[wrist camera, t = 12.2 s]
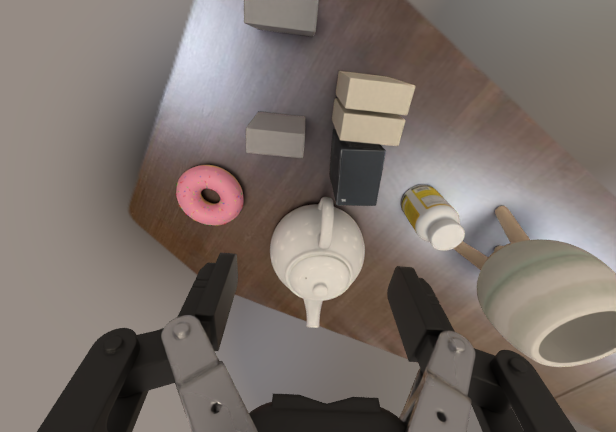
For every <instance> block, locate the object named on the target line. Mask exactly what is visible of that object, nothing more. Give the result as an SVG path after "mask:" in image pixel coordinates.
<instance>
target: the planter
mask: <svg viewBox="0 0 616 432" xmlns="http://www.w3.org/2000/svg"><path fill="white" fill-rule="evenodd" d="M495 214H496V216H497V218H498V220H499V222H500V224H501V226H502V228H503V230H504V232H505V234H506V235H507V237H508V239H509V241H510V244H507V245H505V246H501V245H500V246H497V247H496V248H495V249H494V252H493V253H492V254H491V255H490V256H489V257H487V256H485V255H484V254H482V253H481V252H479V251H478V250H476V249H474V248H473V247H471V246H469V245H468V244H466V243H464V242H463V241H462V242H461V243H460V244H459V245H458V246H457V247H455V248H453V249H454V250H455V251H457V252H458V253H459V254H461V255H462V256H463V257H465V258H466V259H467V260H468V261H470V262H471V263H472V264H473V265H475V266H476V267H477V268H478V269H480V270H481V271H480V273H479V276H478V281H477V296H478V300H479V303H480V306H481V308H482V310H483V312H484V314H485V315H486V317H487V318H488V320H489V321H490V322H491V324H492V325H493V326H494V327H495V329H496V330H497V331H498V332H499V333H500V334H501V335H502V336H503V337H504V338H505V339H506V340H507V341H508V342H509V343H511V344H512V345H513V346H514V347H515V348H517V349H518V350H519V351H520V352H522V353H523V354H525V355H526V356H528V357H529V358H531V359H533V360H534V361H536V362H538V363H540V364H543V365H547V366H553V367H568V366H576V365H581V364H586V363H590V362H593V361H596V360H599V359H602V358H604V357H607V356H609V355H611V354H613V353H615V352H616V273H615V272H614V271H613V270H612V269H611V268H609V267H608V266H607V265H606V264H605V263H603V262H602V261H601V260H599V259H598V258H597V257H595V256H593V255H592V254H590V253H589V252H587V251H585V250H583V249H581V248H579V247H576V246H574V245H571V244H568V243H564V242H559V241H553V240H530V239H529V237H528V236H527V235H526V233H525V232H524V231H523V229H522V228H521V226H520V225H519V224H518V222H517V221H516V219H515V218H514V216H513V215H512V213H511V212H510V211H509V209H508V208H507V207H505V206H500V207H498V208H497V209H496V210H495Z"/></svg>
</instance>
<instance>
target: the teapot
mask: <svg viewBox="0 0 616 432" xmlns="http://www.w3.org/2000/svg"><path fill="white" fill-rule="evenodd" d="M270 255H271V261H272V265H273V268H274V270H275V272H276V274H277V276H278V277H279V279H280V280H281V281H282V282H283V283H284V284H285V285H286V286H287V287H288V288H289V289H290V290H291V291H292V292H293V293H294V294H296V295H297V296H299V297H301V298H303V299H304V302H305V307H306V312H307V325H306V326H307V327H316V328H318V327H319V318H320V310H321V305H322V301H323V300H329V299H332V298H335V297H337V296H339V295H341V294H342V293H344V292H345V291H346V290H347V289H348V287H349V286H350V285H351V284H352V283H353V282H354V280H355V279H356V277H357V276H358V274H359V272H360V270H361V268H362V265H363V261H364V255H365V247H364V240H363V236H362V234H361V231H360V229H359V227H358V225H357V224H356V222H355V221H354V220H353V219H352V218H351V217H350V216H349V215H348V214H347V213H345V212H344V211H342V210H340V209H338V208H335V207H334V203H333V199H332V198H329V197H323V198H322V199H321V201H320V203H319V204H314V205H306V206H302V207H299V208H297V209H295V210H293V211H291V212H290V213H288V214H287V215H286V216H285V217H284V218H283V219H282V220H281V221H280V222H279V224H278V225H277V227H276V228H275V231H274V233H273V236H272V239H271V245H270Z"/></svg>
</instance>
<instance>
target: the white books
mask: <svg viewBox="0 0 616 432" xmlns="http://www.w3.org/2000/svg"><path fill="white" fill-rule="evenodd" d="M414 89H415V85H412V84H409V83H406V82H403V81H399V80H396V79H393V78H390V77H386V76H378V75H370V74H361V73H353V72H345V71H339V73H338V80H337V87H336V96H337V97H338V98H335V100H334V107H333V114H332V121H333V124H334V126H335V129H336V132H337V134H338V137H339V139H340V140H343V141H353V142H362V143H372V144H381V145H391V146H398V145H399V142H400V138H401V135H402V131H403V128H404V124H405V121H406V120H405V119H403V118H402V117H400V116H399V115H398V114H400V115H407V114H408V110H409V107H410V103H411V100H412V96H413V93H414Z"/></svg>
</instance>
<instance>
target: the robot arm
mask: <svg viewBox="0 0 616 432" xmlns="http://www.w3.org/2000/svg"><path fill="white" fill-rule="evenodd" d="M237 281H238V272H237V255H236V254H230V253H220V254H219V257H218V259H217V262H216V263H207V264H206V265H205V266H204V267H203V268H202V269H200V271H199V273H198V275H197V277H196V280H195V282H194V284H193V286H192V288H191V290H190V292H189V294H188V296H187V298H186V301H185V303H184V305H183V307H182V309H181V311H180V313H179V315H178V317H177V318H175V319H173V320H171V321H170V322H169V323H168V324H167V325H166V326H165V327H164V328H163V329H160V330H157V331H153V332H149V333H144V334H140V335H136V333H135V332H134V331H133V330H131V329H128V328H119V329H115V330H112V331H110V332H108V333H106V334H104V335H103V336H102V337H100V338H99V339H98V340H97V341H96V342H95V343H94V345H93V346H92V347H91V349H90V350H89V352H88V354H87V355H86V357H85V358H84V360H83V361H82V363H81V364H80V366H79V367H78V369H77V371H76V372H75V374H74V375H73V377H72V378H71V380H70V381H69V383H68V385H67V386H66V388H65V390H64V391H63V392H62V394H61V395H60V397H59V398H58V400H57V402H56V403H55V405H54V406H53V408H52V409H51V411H50V412H49V414H48V416H47V417H46V419H45V420H44V422H43V423H42V425H41V426H40V428H39V429H38V431H37V432H132V431H133V428H134V426H135V423H136V421H137V418H138V415H139V413H140V411H141V408H142V406H143V403H144V401H145V398H146V396H147V393H148V391H149V390H151V389H155V388H158V387H161V386H165V385H169V384H172V383H175V384H176V387H177V390H178V393H179V396H180V399H181V402H182V405H183V408H184V411H185V414H186V417H187V420H188V423H189V426H190V429H191V432H467V426H468V421H469V415H470V409H471V405H472V407H473V409H474V412H475V414H476V417H477V419H478V421H479V424H480V426H481V429H482V431H483V432H576V430H575V429H574V427H573V426H572V424H571V423H570V421H569V420H568V418H567V417H566V415H565V414H564V412H563V411H562V409H561V408H560V406H559V405H558V403H557V402H556V400H555V399H554V397H553V396H552V394H551V393H550V391H549V390H548V388H547V387H546V385H545V384H544V382H543V381H542V379H541V378H540V376H539V375H538V373H537V372H536V370H535V369H534V367H533V366H532V365H531V364H530V363H529V362H528V361H527V360H526V359H525V358H524V357H522V356H521V355H519V354H517V353H515V352H513V351H510V350H501V351H499V352H498V353H497V355H496V356H494V355H492V354H489V353H486V352H483V351H480V350H477V349H475V348H473V346H472V345H471V343H470V342H469V341H468V340H467V339H466V338H465V337H463V336H462V335H460V334H458V333H456V332H455V331H454V329H453V327H452V326H451V324H450V322H449V320H448V318H447V316H446V314H445V312H444V310H443V309H442V307H441V305H440V304H439V301H438V299H437V297H435V294H434V292H433V290H432V288H431V286H430V285H429V284H428V283H427V282H426V281H425V280H424V279H423V278H418V276H417V274H416V272H415V270H414V269H413V268H412V267H400V266H397V267H396V268H395V270H394V273H393V276H392V279H391V281H390V284H389V287H388V300H389V303H390V306H391V309H392V312H393V315H394V318H395V321H396V324H397V327H398V330H399V333H400V336H401V339H402V342H403V345H404V348H405V351H406V354H407V357H408V360H409V361H410V362H418V363H419V366H420V369H419V371H418V373H417V376H416V378H415V381H414V383H413V386H412V388H411V391H410V394H409V396H408V399H407V401H406V404H405V406H404V409H403V411H402V413H401V415H400V417H399V418H398V417H397V416H396V415H394V414H393V413H391V412H390V411H388V410H385V409H384V408H381V407H380V404H379V400H378V398H364V397H351V398H347V399H344V400H340V401H336V402H332V403H328V404H326V403H322V402H319V401H316V400H313V399H310V398H307V397H304V396H301V395H292V394H273V399H272V402H270V403H266V404H264V405H261V406H259V407H258V408H256V409H254V410H253V411H251V412H250V413H248V411H247V409H246V407H245V405H244V403H243V401H242V399H241V397H240V395H239V393H238V391H237V389H236V387H235V385H234V383H233V381H232V379H231V377H230V375H229V373H228V371H227V369H226V367H225V365H224V363H223V362H222V361H219V359H218V358H217V356H216V353H215V351H218V350H219V347H220V344H221V340H222V337H223V333H224V330H225V326H226V322H227V319H228V316H229V312H230V308H231V305H232V302H233V298H234V295H235V291H236V287H237ZM511 407H512V408H511ZM512 409H513V410H512ZM515 414H516V415H515ZM516 416H517V417H516ZM517 418H518V419H517ZM518 420H519V421H518ZM519 422H520V423H519ZM520 424H521V425H520ZM521 426H522V427H521ZM522 428H523V429H522Z"/></svg>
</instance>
